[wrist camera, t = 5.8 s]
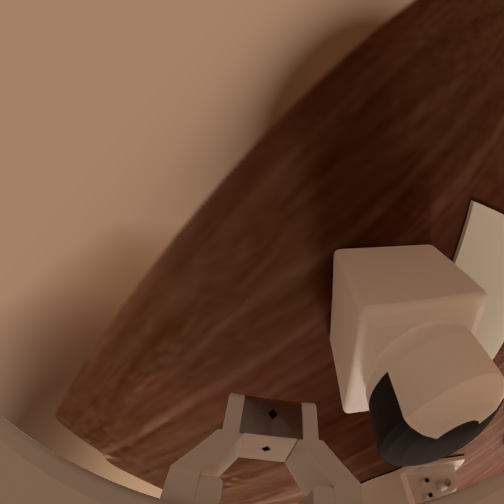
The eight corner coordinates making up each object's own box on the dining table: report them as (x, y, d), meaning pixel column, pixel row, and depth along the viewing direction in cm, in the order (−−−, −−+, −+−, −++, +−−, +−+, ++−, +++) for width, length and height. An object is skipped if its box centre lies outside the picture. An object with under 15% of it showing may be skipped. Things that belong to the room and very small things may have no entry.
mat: (545, 236, 14) (548, 238, 14) (479, 375, 20) (480, 377, 20) (470, 200, 15) (474, 201, 14) (394, 378, 21) (395, 381, 20)
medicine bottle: (415, 329, 19) (477, 454, 8) (328, 339, 20) (352, 491, 8) (431, 242, 16) (548, 353, 5) (332, 247, 17) (397, 407, 6)
